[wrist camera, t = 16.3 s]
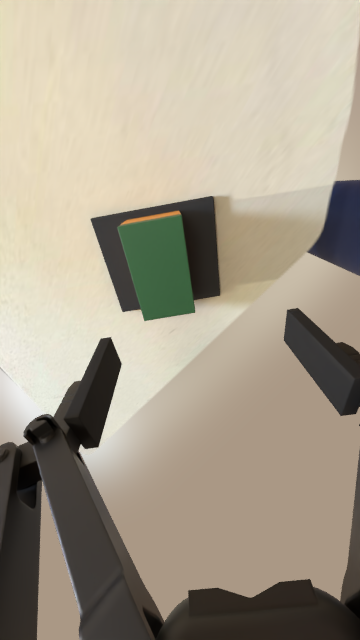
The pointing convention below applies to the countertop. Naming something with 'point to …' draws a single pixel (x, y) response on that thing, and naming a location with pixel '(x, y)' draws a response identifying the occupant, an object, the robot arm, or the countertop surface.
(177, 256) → the sponge
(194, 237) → the sink mat
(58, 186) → the countertop surface
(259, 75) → the countertop surface
